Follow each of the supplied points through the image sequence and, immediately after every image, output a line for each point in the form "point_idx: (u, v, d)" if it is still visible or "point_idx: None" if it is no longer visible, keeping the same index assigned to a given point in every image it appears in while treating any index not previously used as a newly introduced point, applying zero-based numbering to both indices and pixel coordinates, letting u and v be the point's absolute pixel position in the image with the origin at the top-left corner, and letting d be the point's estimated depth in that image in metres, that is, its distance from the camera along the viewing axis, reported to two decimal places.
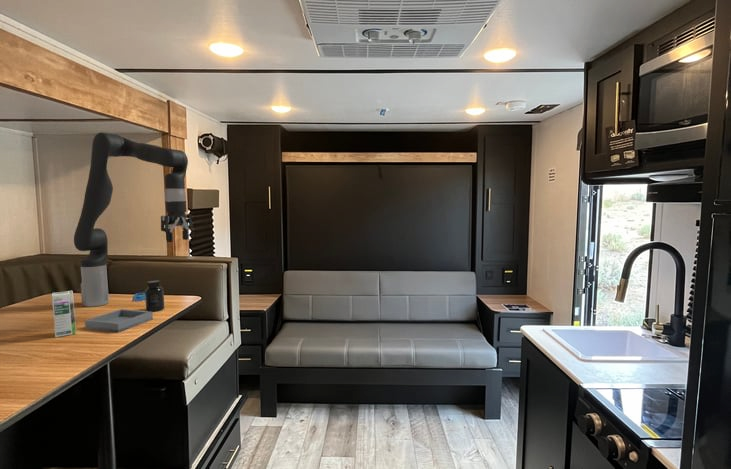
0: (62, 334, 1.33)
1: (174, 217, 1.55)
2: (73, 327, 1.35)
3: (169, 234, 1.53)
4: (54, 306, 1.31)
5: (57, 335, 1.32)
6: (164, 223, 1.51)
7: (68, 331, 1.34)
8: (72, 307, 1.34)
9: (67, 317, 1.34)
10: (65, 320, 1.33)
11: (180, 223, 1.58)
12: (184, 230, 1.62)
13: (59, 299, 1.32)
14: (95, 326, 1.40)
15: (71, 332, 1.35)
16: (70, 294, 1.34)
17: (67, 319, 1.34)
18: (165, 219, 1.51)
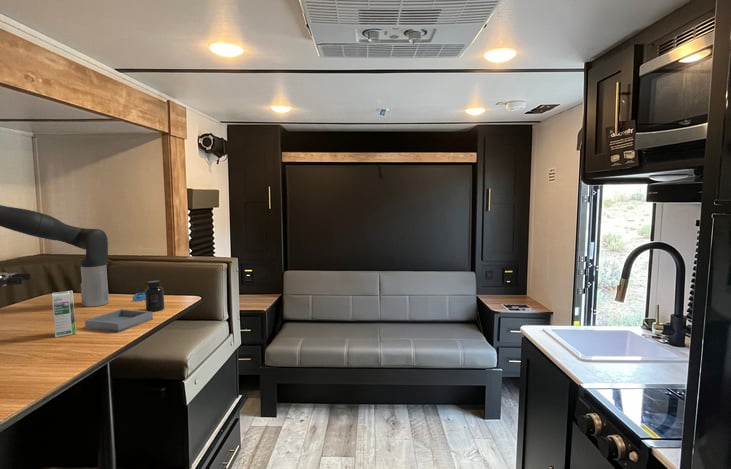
0: (62, 334, 1.33)
1: None
2: (73, 327, 1.35)
3: None
4: (54, 306, 1.31)
5: (57, 335, 1.32)
6: None
7: (68, 331, 1.34)
8: (72, 307, 1.34)
9: (67, 317, 1.34)
10: (65, 320, 1.33)
11: None
12: None
13: (59, 299, 1.32)
14: (95, 326, 1.40)
15: (71, 332, 1.35)
16: (70, 294, 1.34)
17: (67, 319, 1.34)
18: None
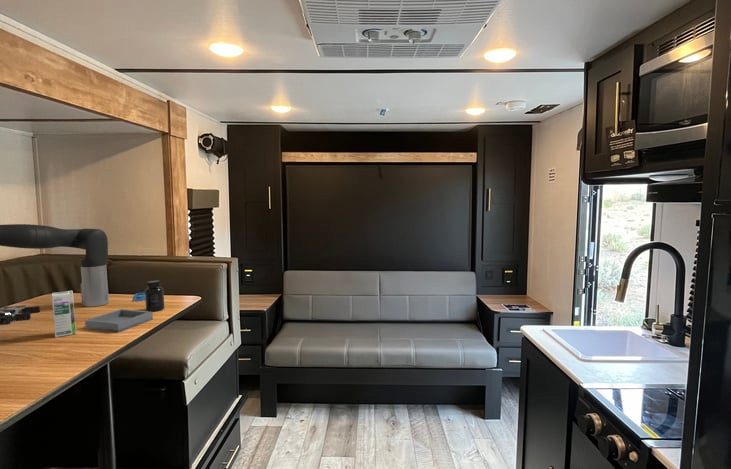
0: (62, 334, 1.33)
1: None
2: (73, 327, 1.35)
3: None
4: (54, 306, 1.31)
5: (57, 335, 1.32)
6: None
7: (68, 331, 1.34)
8: (72, 307, 1.34)
9: (67, 317, 1.34)
10: (65, 320, 1.33)
11: None
12: None
13: (59, 299, 1.32)
14: (95, 326, 1.40)
15: (71, 332, 1.35)
16: (70, 294, 1.34)
17: (67, 319, 1.34)
18: None
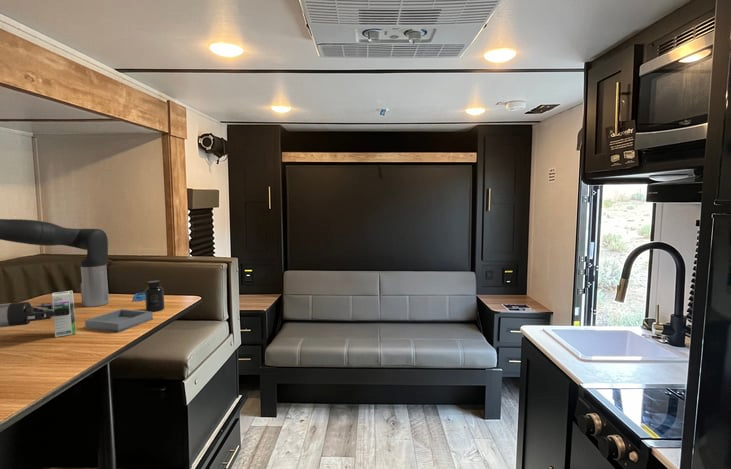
0: (62, 334, 1.33)
1: None
2: (73, 327, 1.35)
3: None
4: (54, 306, 1.31)
5: (57, 335, 1.32)
6: None
7: (68, 331, 1.34)
8: (72, 307, 1.34)
9: (67, 316, 1.34)
10: (66, 320, 1.33)
11: None
12: None
13: (59, 299, 1.32)
14: (95, 326, 1.40)
15: (71, 332, 1.35)
16: (70, 294, 1.34)
17: (67, 319, 1.34)
18: None
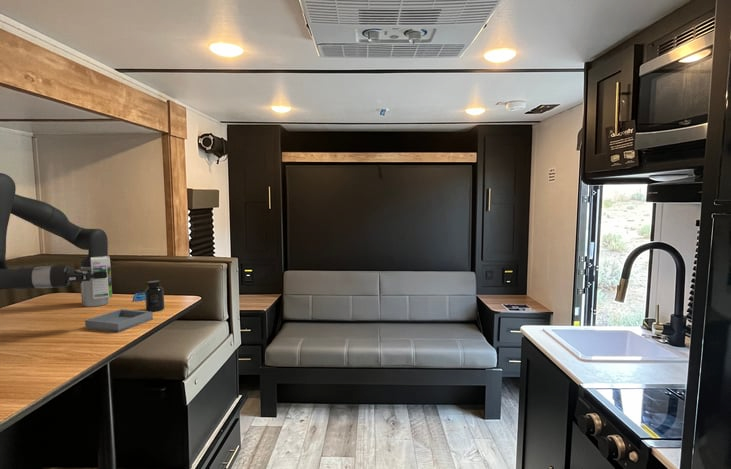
0: (100, 296, 1.39)
1: None
2: (110, 290, 1.41)
3: None
4: (93, 269, 1.38)
5: (95, 297, 1.39)
6: None
7: (105, 293, 1.40)
8: (109, 271, 1.40)
9: (105, 280, 1.40)
10: (103, 283, 1.40)
11: None
12: None
13: (97, 263, 1.38)
14: (95, 326, 1.40)
15: (108, 295, 1.41)
16: (107, 258, 1.40)
17: (104, 282, 1.40)
18: None
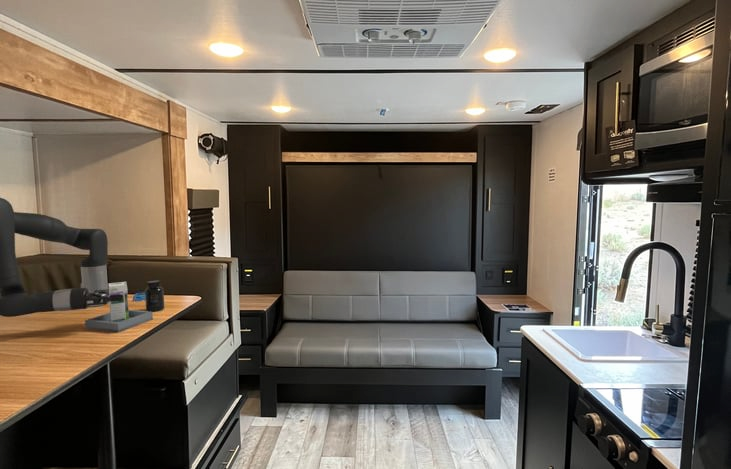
0: (117, 322, 1.44)
1: None
2: (127, 315, 1.45)
3: None
4: None
5: None
6: None
7: (122, 319, 1.44)
8: (126, 297, 1.45)
9: (122, 305, 1.44)
10: (120, 308, 1.44)
11: None
12: None
13: (114, 289, 1.42)
14: (95, 326, 1.40)
15: None
16: (124, 285, 1.44)
17: (122, 308, 1.44)
18: None
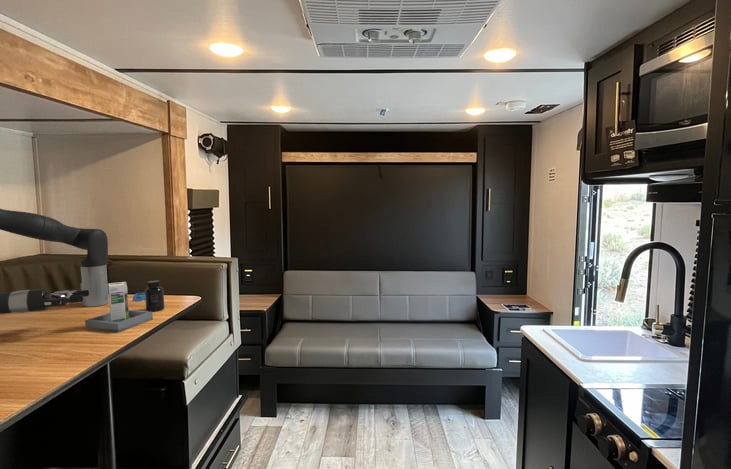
0: (117, 322, 1.44)
1: None
2: (127, 315, 1.45)
3: None
4: (110, 295, 1.42)
5: None
6: None
7: (122, 319, 1.44)
8: (126, 297, 1.45)
9: (122, 305, 1.44)
10: (120, 308, 1.44)
11: None
12: None
13: (114, 289, 1.42)
14: (95, 326, 1.40)
15: None
16: (124, 285, 1.44)
17: (122, 308, 1.44)
18: None
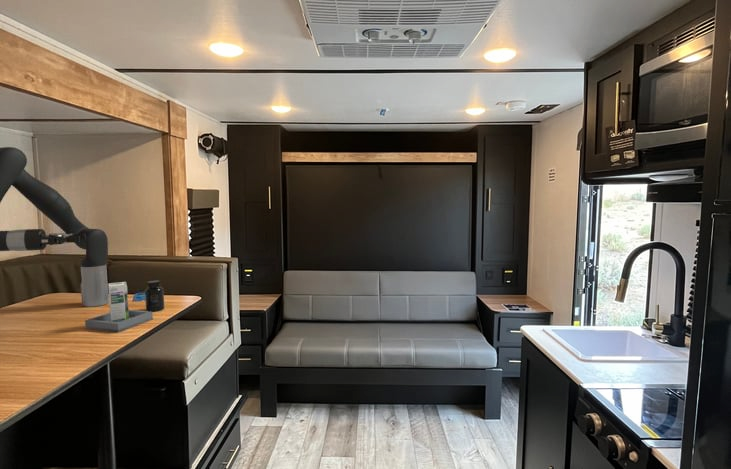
0: (117, 322, 1.44)
1: None
2: (127, 315, 1.45)
3: None
4: (110, 295, 1.42)
5: None
6: None
7: (122, 319, 1.44)
8: (126, 297, 1.45)
9: (122, 305, 1.44)
10: (120, 308, 1.44)
11: None
12: None
13: (114, 289, 1.42)
14: (95, 326, 1.40)
15: None
16: (124, 285, 1.44)
17: (122, 308, 1.44)
18: None
